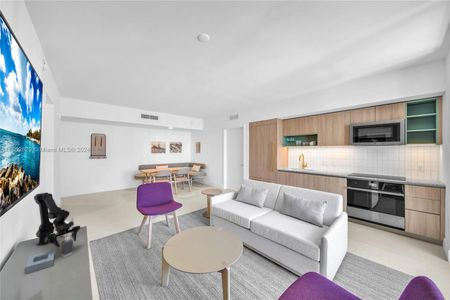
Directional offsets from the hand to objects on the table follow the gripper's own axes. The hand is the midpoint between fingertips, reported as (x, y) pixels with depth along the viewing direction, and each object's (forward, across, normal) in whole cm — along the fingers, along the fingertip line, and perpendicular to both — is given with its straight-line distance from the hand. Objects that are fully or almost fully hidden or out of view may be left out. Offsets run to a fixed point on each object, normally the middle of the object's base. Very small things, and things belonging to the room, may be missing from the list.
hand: (67, 243), depth 122 cm
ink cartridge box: (-18, +13, +29) cm, 37 cm away
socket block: (+4, -13, +7) cm, 15 cm away
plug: (+5, 0, +6) cm, 8 cm away
